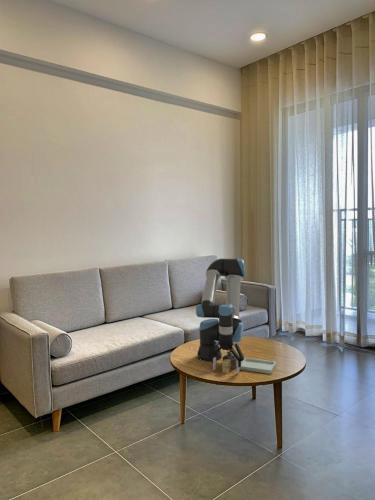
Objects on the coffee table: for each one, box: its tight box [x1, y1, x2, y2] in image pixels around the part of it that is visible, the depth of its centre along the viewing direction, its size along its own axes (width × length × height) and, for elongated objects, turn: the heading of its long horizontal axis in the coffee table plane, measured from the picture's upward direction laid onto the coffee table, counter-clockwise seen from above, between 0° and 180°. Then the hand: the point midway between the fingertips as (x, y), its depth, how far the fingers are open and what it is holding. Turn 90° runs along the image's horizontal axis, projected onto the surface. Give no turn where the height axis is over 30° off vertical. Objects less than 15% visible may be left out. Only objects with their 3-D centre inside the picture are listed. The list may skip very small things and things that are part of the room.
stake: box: [226, 350, 233, 359], centre depth 218 cm, size 3×3×9 cm
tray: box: [239, 357, 277, 375], centre depth 218 cm, size 18×14×2 cm
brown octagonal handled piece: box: [221, 354, 238, 374], centre depth 216 cm, size 12×8×6 cm, turn 157°
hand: (226, 370), depth 212 cm, fingers open, 13 cm apart
